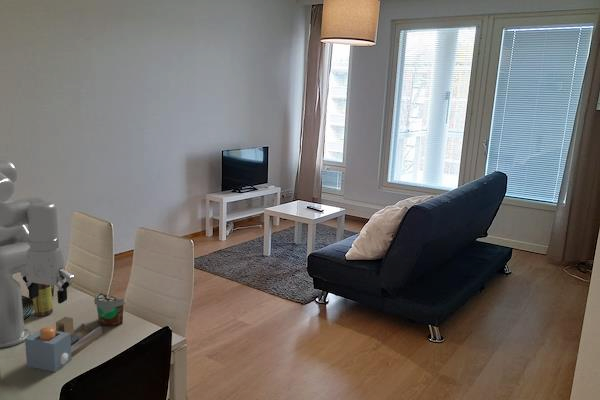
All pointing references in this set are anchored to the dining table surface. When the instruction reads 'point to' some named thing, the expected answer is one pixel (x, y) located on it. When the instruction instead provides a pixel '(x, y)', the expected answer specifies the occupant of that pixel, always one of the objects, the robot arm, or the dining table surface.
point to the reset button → (47, 333)
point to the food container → (109, 310)
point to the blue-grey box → (48, 351)
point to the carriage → (67, 328)
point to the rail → (84, 338)
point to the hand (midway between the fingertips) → (48, 299)
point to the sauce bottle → (43, 301)
